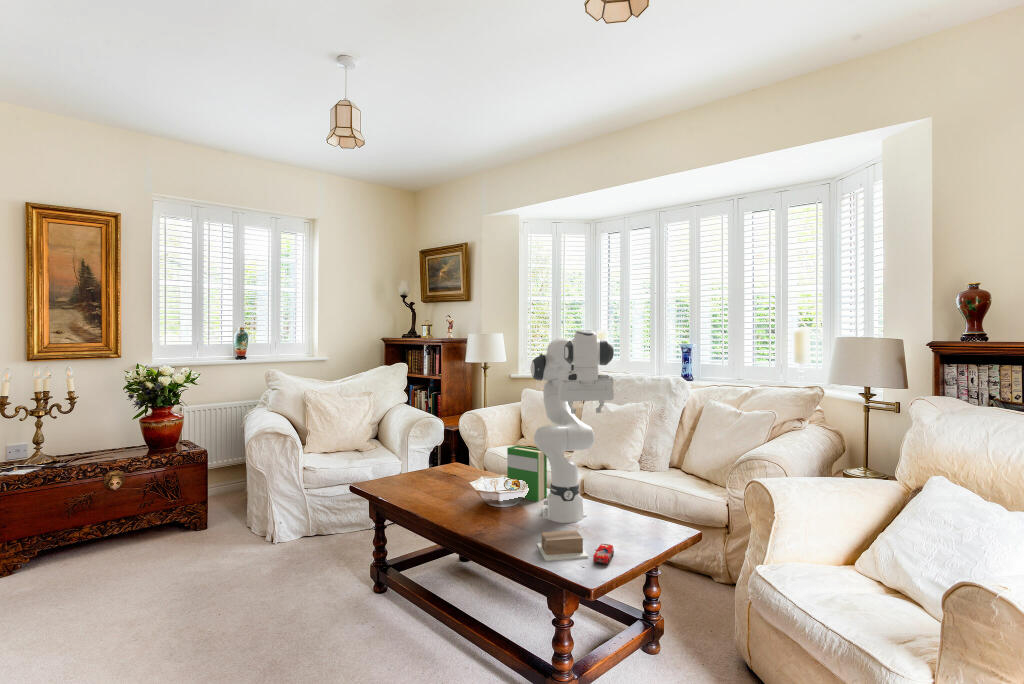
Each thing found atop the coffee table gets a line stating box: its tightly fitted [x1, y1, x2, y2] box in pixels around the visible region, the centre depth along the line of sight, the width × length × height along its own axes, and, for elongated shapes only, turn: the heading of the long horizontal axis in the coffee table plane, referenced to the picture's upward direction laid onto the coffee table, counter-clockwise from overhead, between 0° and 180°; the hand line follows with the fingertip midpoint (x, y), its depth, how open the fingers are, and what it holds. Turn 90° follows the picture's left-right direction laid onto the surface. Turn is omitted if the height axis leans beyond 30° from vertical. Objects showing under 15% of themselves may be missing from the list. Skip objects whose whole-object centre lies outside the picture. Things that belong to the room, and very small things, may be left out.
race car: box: [592, 543, 615, 565], centre depth 183 cm, size 13×5×4 cm, turn 157°
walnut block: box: [540, 529, 584, 555], centre depth 189 cm, size 8×13×5 cm, turn 99°
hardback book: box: [506, 444, 548, 503], centre depth 252 cm, size 18×7×24 cm, turn 51°
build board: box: [536, 542, 589, 562], centre depth 189 cm, size 14×15×1 cm
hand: (586, 413), depth 194 cm, fingers open, 8 cm apart
